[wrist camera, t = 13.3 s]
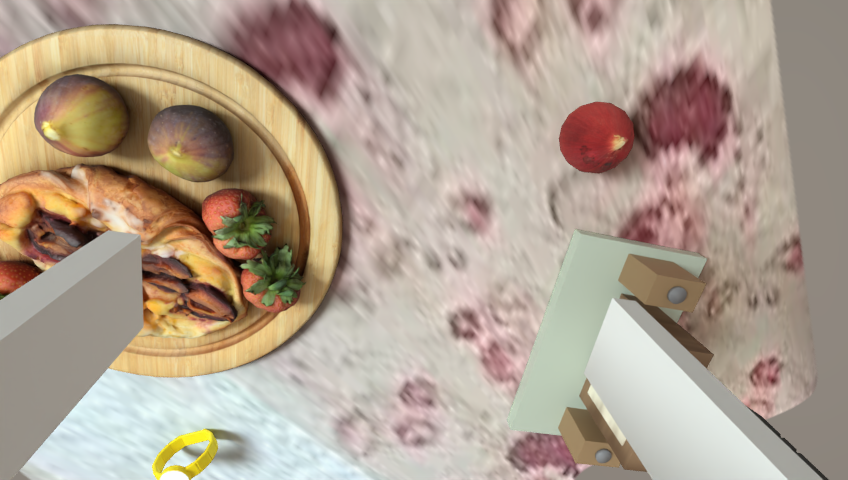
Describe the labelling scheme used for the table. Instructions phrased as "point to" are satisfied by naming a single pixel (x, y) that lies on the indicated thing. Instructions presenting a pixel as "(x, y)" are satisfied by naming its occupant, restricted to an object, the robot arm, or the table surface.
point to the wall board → (594, 331)
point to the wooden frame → (600, 411)
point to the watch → (179, 476)
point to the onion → (596, 137)
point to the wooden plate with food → (168, 189)
